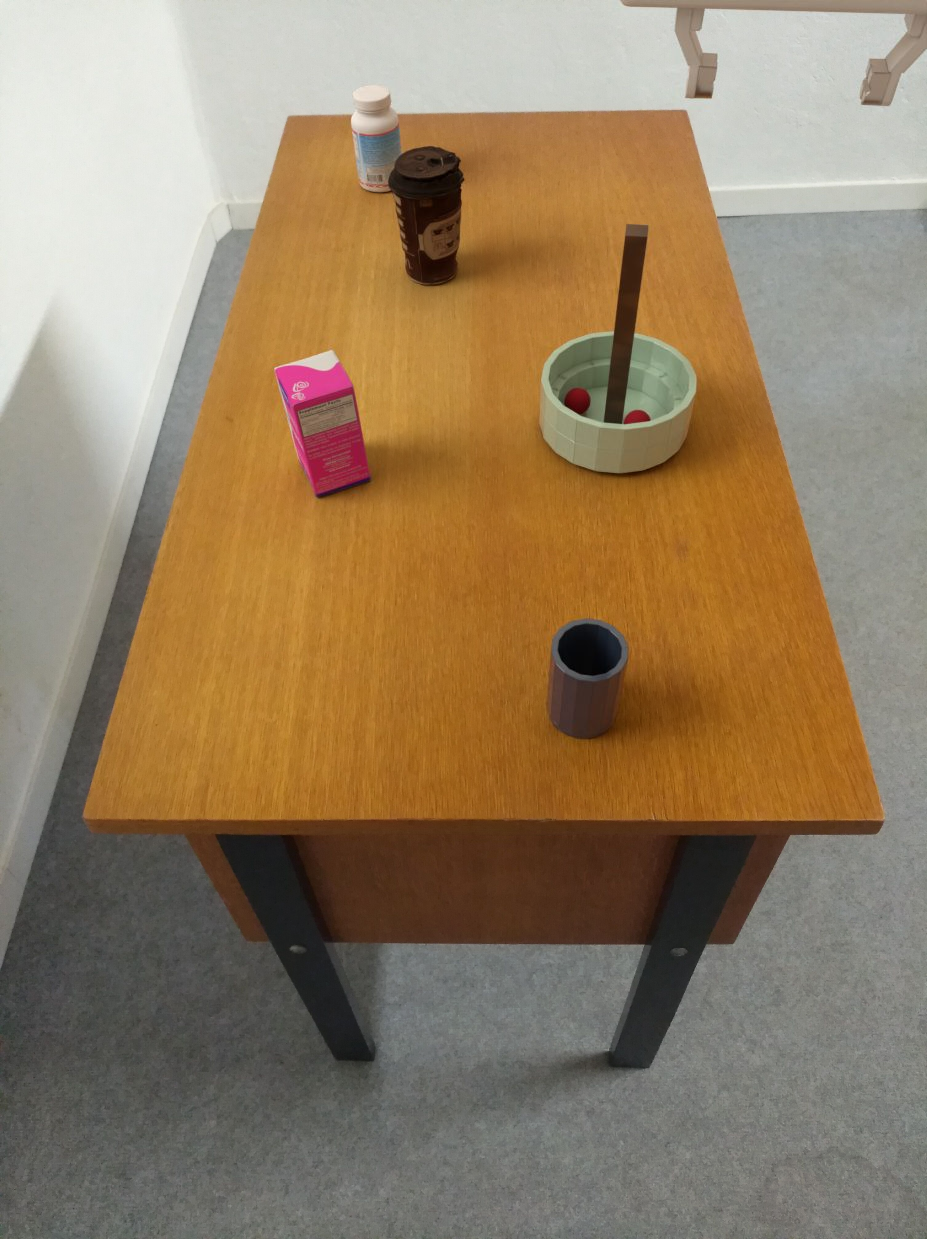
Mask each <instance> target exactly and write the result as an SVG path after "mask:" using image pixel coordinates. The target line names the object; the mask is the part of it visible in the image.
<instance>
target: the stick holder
mask: <svg viewBox="0 0 927 1239" xmlns="http://www.w3.org/2000/svg"><path fill="white" fill-rule="evenodd" d="M629 649H630V648H629V645H628V643H627V640H626V637H625V636H624V634H623V633H621V631H619V629H617V627H615V626H614V625H613V624H611V623H608V622H606V621H603V620H601V619H595V618H588V617H587V618H581V619H580V618H579V619H575V620H571V621H569V622H568V623H566V624H564V625H563V626H561V627H560V628H558V630H557V631H556V633H555V634H554V636H553V637H552V639H551V647H550V657H549V658H550V659H549V670H548V682H547V696H546V711H547V716H548V718H549V720H550V722H551V724H552V725H553V726H554V727H555V728H556V730H558V731H559V732H560V733H563V734H564V735H565V736H568V737H571V738H575V739H584V740H585V739H586V740H587V739H593V738H596V737H599V736H602V735H604V733H606V732H607V731H608V730H609V729H610V728H611V727H612V726H613V725H614V723H615V721H616V720H617V716H618V713H619V712H618V711H619V707H620V702H621V698H622V697H621V696H622V692H623V686H624V681H625V676H626V671H627V667H628V661H629Z"/></svg>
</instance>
